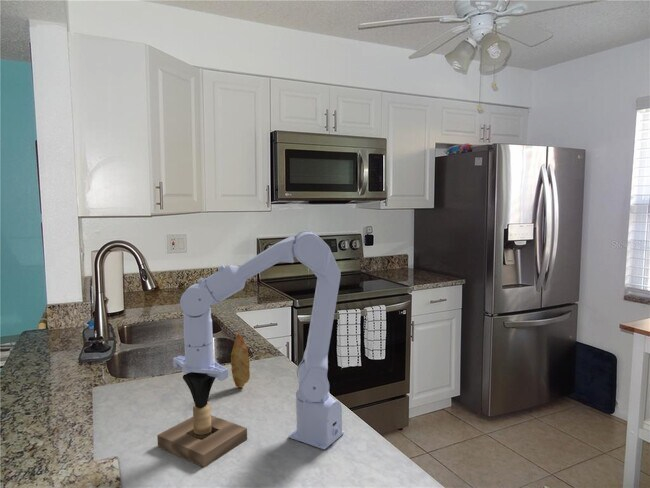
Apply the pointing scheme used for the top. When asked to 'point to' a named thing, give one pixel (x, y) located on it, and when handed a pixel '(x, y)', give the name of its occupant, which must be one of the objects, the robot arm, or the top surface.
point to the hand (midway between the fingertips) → (201, 405)
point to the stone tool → (240, 362)
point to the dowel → (202, 421)
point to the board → (202, 450)
